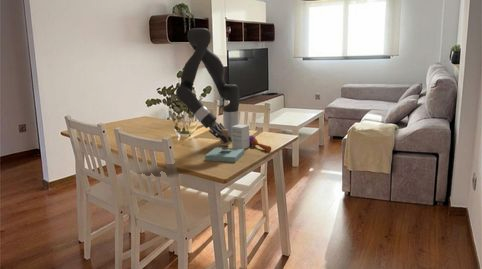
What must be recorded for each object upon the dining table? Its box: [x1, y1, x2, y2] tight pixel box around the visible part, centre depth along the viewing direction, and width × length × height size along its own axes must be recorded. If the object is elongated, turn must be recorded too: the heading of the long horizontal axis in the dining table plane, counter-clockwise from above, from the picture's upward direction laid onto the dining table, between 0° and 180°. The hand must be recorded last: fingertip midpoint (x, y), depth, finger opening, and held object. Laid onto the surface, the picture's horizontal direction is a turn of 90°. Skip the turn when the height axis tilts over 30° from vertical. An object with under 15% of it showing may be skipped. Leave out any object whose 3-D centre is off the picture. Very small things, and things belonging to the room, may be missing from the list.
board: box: [204, 147, 245, 163], centre depth 201 cm, size 16×16×2 cm
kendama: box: [249, 135, 272, 153], centre depth 217 cm, size 6×6×20 cm
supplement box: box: [231, 123, 251, 150], centre depth 217 cm, size 7×7×13 cm
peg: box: [220, 129, 230, 150], centre depth 199 cm, size 4×4×10 cm
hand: (228, 140), depth 199 cm, fingers closed on peg, 4 cm apart
